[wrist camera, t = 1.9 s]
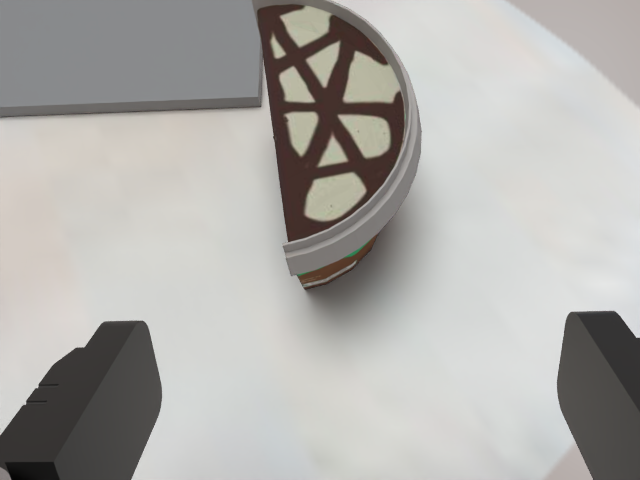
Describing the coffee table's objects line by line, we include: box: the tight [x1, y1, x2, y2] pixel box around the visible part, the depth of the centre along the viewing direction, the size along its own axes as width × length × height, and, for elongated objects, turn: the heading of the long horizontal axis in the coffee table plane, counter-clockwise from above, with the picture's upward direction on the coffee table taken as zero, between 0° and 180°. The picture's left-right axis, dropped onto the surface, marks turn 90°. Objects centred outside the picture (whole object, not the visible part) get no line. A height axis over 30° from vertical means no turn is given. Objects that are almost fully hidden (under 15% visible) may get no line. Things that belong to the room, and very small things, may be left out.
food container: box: [252, 0, 422, 289], centre depth 27 cm, size 12×6×10 cm, turn 8°
